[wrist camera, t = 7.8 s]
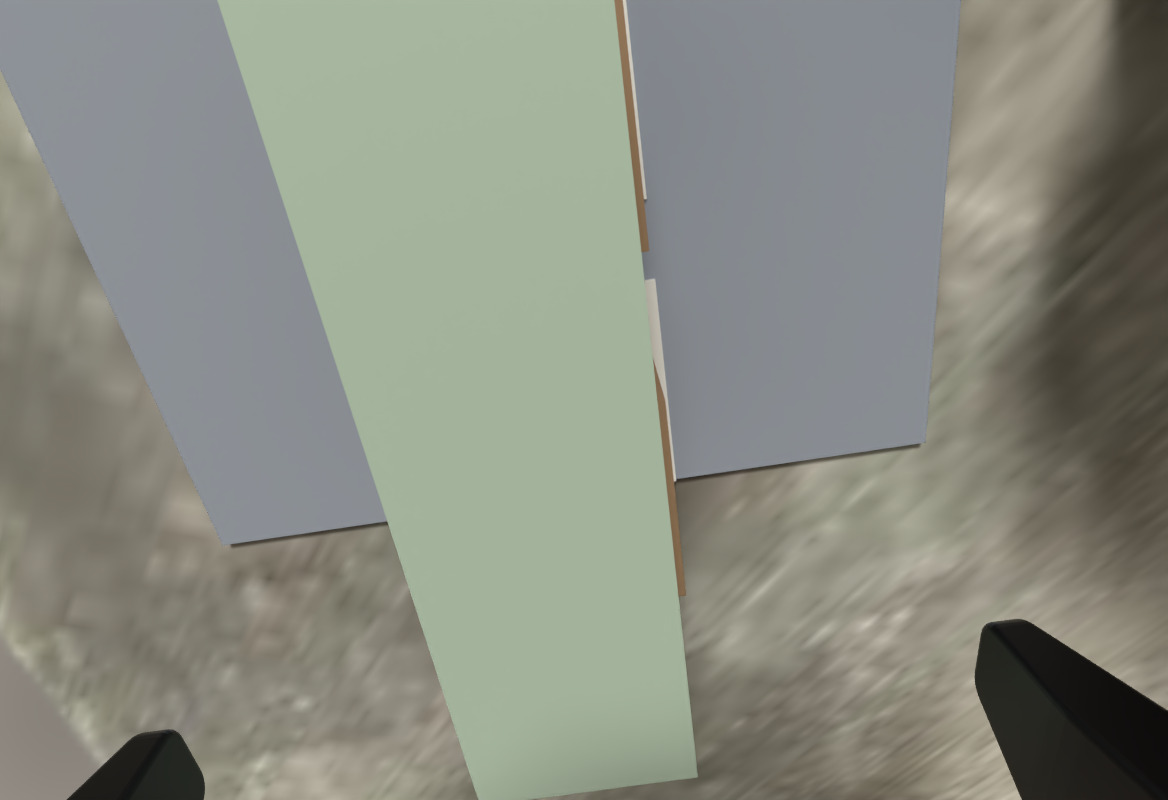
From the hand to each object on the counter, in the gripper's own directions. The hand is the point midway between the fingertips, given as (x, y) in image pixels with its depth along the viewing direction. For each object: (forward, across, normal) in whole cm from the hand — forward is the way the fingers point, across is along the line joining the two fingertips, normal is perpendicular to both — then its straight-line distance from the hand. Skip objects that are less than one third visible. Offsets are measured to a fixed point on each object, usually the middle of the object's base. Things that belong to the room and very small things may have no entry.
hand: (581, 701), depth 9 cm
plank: (+7, +1, -1) cm, 7 cm away
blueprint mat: (+12, +1, -1) cm, 13 cm away
